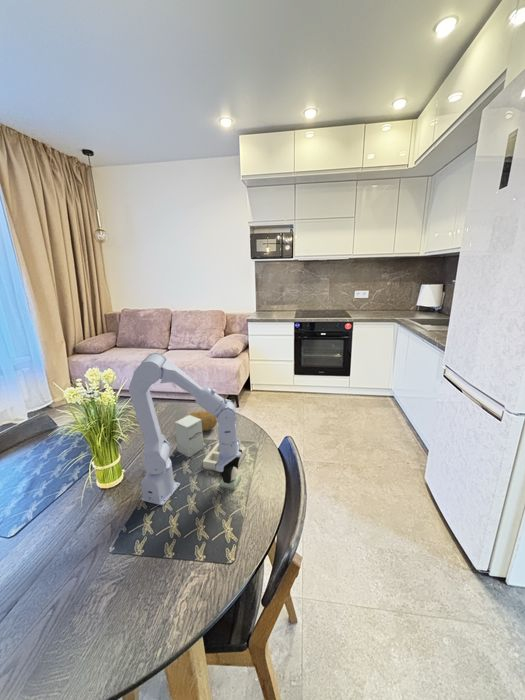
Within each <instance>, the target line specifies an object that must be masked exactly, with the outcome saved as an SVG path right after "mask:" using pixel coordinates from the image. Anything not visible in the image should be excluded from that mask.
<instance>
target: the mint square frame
mask: <svg viewBox="0 0 525 700" xmlns="http://www.w3.org/2000/svg"><path fill="white" fill-rule="evenodd" d="M241 476H242V475H241V473H238V475H237V477H236V479H234V480H233V481H231V482H230V484H229V483H224V481H223V479H220V481H219V485H220V488H222V489H223V488H224V489H228V490H229V489H230V490H233V491H235V490H236V489H237V488H238V486H239V483H240V482H241V480H242V477H241Z"/></svg>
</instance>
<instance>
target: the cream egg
mask: <svg viewBox="0 0 525 700" xmlns="http://www.w3.org/2000/svg"><path fill="white" fill-rule="evenodd" d="M238 474H239V471H238V469H237V468H236V467H235V466H234V467H233V469H232V474H231V481H233V480H234V479H236V477H237V475H238Z"/></svg>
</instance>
